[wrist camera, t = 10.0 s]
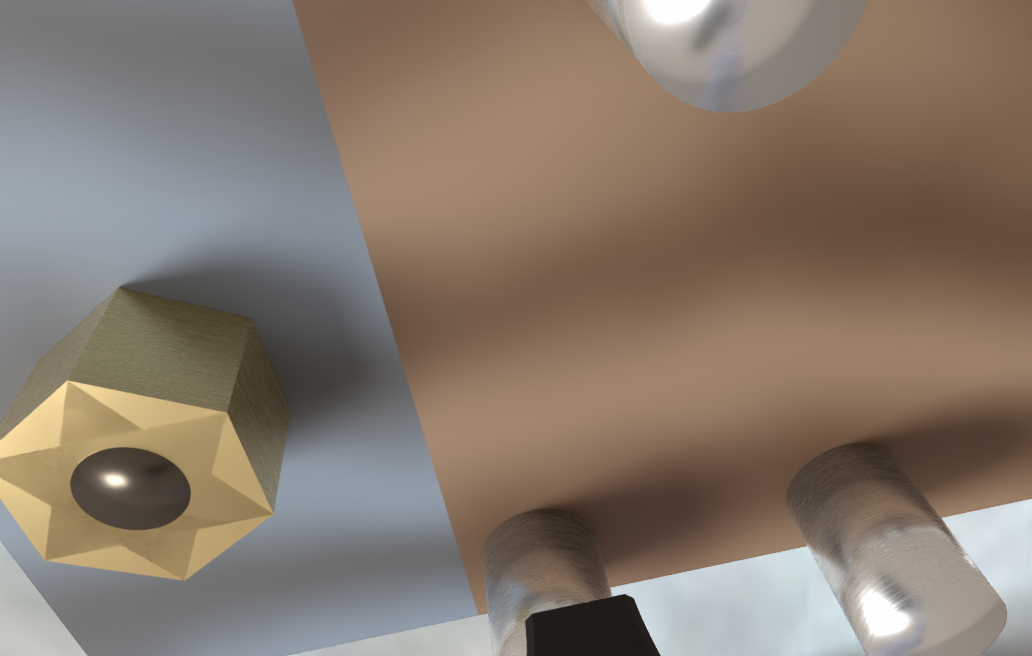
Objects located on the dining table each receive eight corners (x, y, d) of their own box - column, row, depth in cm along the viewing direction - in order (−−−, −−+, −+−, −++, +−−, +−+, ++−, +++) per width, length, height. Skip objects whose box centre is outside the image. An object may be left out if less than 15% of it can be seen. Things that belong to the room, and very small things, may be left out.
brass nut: (307, 454, 19) (294, 559, 16) (117, 493, 19) (74, 603, 16) (230, 264, 16) (199, 354, 13) (7, 309, 16) (-67, 407, 13)
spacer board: (1172, 445, 23) (1195, 464, 23) (123, 665, 23) (115, 691, 22) (1485, -383, 13) (1543, -392, 13) (-369, -10, 13) (-410, 1, 12)
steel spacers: (1183, 454, 22) (1341, 588, 19) (493, 599, 22) (513, 764, 18) (1495, -344, 13) (1946, -397, 9) (295, -102, 13) (252, -55, 9)
